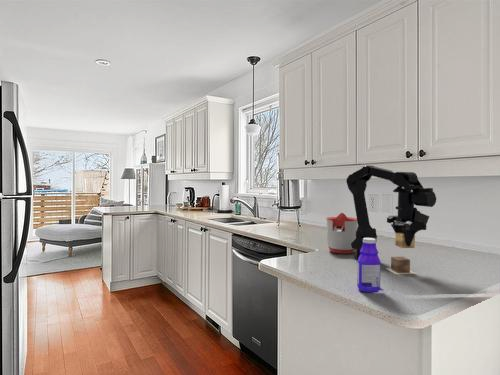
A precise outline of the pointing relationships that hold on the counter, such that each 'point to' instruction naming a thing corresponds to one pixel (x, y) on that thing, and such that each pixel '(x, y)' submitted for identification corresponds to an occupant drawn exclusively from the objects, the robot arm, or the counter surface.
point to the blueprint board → (399, 273)
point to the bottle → (368, 267)
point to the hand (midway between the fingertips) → (404, 244)
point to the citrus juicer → (341, 233)
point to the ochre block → (403, 241)
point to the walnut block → (400, 264)
